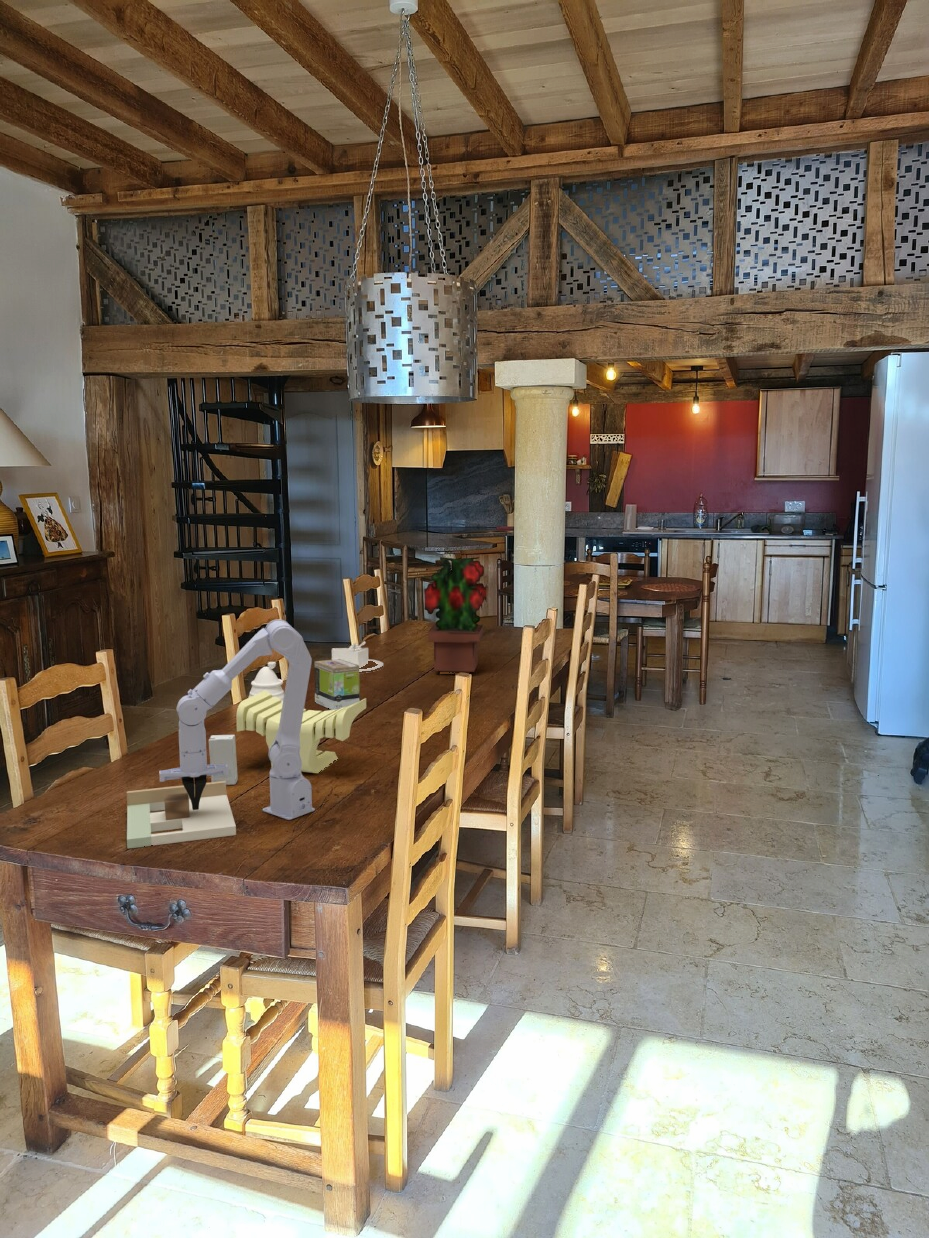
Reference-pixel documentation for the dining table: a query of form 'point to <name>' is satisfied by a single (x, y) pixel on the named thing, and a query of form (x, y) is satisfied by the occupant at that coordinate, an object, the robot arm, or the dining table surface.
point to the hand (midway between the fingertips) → (195, 808)
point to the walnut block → (176, 806)
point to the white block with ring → (355, 656)
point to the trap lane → (200, 825)
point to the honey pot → (267, 682)
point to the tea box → (336, 683)
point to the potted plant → (456, 613)
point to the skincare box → (224, 757)
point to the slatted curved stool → (265, 720)
